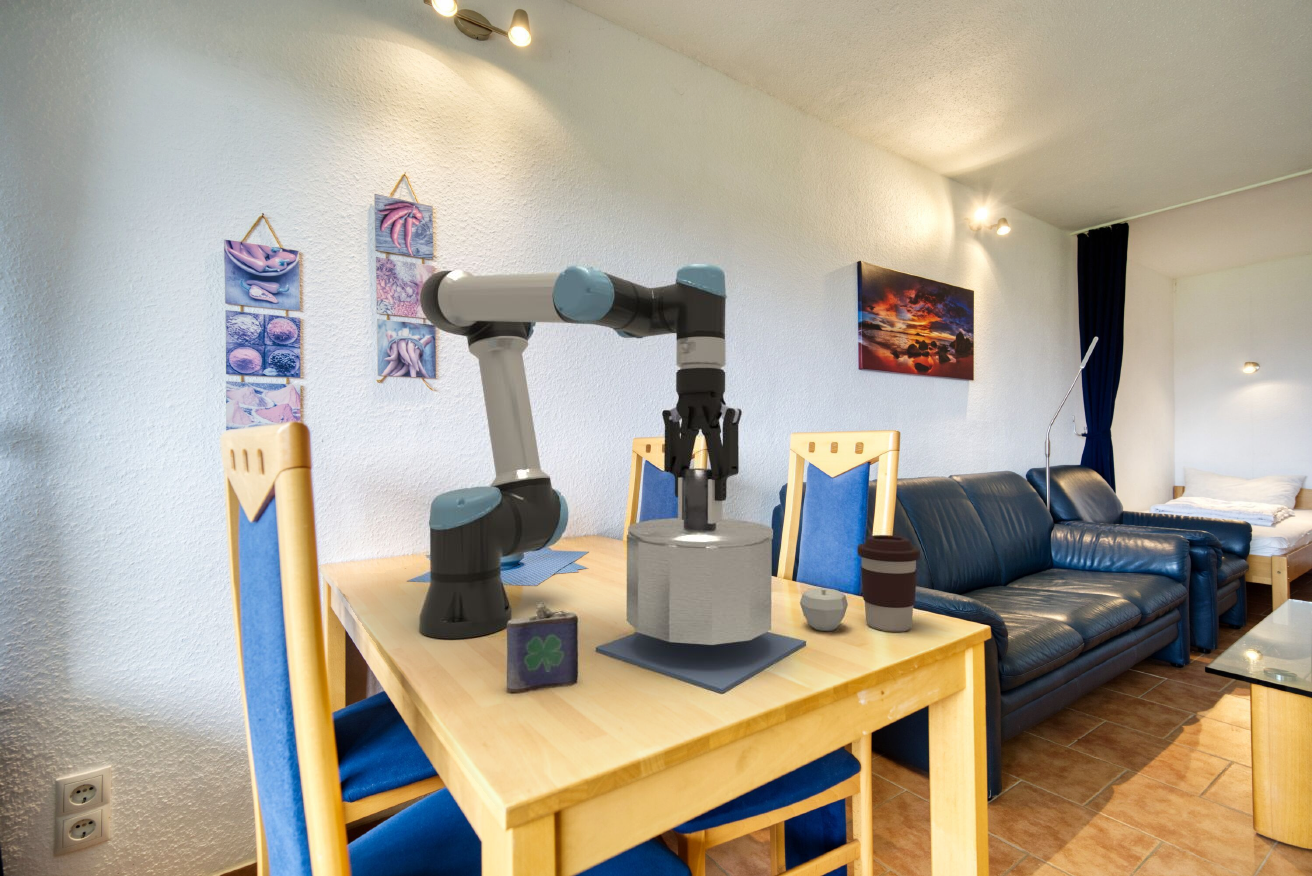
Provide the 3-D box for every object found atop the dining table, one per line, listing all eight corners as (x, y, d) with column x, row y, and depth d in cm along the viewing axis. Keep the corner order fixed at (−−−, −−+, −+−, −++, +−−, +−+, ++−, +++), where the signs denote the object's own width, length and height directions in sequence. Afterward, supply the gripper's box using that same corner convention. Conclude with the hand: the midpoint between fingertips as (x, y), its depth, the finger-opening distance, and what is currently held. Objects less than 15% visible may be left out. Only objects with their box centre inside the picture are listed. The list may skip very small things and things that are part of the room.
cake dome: (597, 620, 90) (598, 469, 90) (686, 592, 106) (687, 464, 106) (717, 657, 75) (718, 476, 75) (798, 617, 92) (799, 469, 92)
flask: (507, 695, 74) (507, 609, 74) (505, 686, 77) (505, 603, 77) (580, 684, 77) (579, 602, 77) (575, 676, 80) (575, 597, 80)
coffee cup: (926, 637, 95) (926, 543, 95) (862, 633, 97) (861, 542, 97) (913, 618, 105) (912, 534, 105) (854, 615, 107) (854, 532, 107)
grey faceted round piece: (852, 637, 95) (852, 596, 95) (801, 634, 97) (801, 594, 97) (844, 621, 103) (844, 584, 103) (797, 619, 104) (797, 582, 104)
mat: (595, 651, 89) (595, 647, 89) (688, 616, 107) (688, 612, 107) (722, 693, 74) (722, 689, 74) (806, 644, 92) (806, 640, 92)
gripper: (640, 370, 94) (639, 517, 94) (737, 361, 82) (736, 529, 82) (670, 374, 99) (669, 512, 99) (764, 366, 88) (763, 523, 88)
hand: (699, 520), depth 91 cm, fingers closed on cake dome, 5 cm apart
